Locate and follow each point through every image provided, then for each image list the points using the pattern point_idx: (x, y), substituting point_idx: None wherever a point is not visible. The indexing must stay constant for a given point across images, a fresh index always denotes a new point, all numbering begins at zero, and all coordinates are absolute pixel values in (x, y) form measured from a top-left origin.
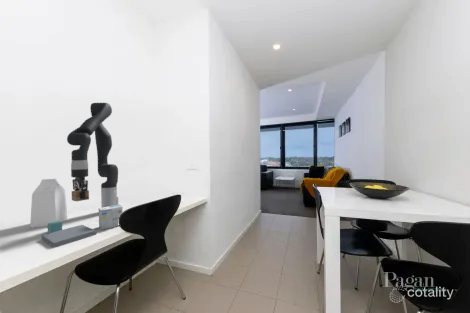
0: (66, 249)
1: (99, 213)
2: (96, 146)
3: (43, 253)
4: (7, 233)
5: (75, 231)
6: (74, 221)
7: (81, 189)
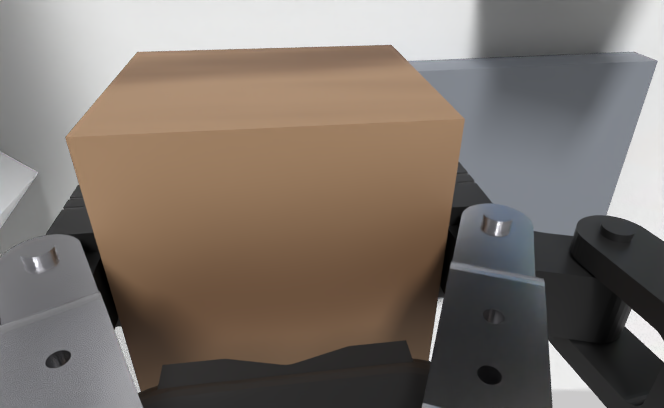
0: (659, 236)
1: None
2: None
3: None
4: None
5: (510, 164)
6: (19, 25)
7: (565, 359)
